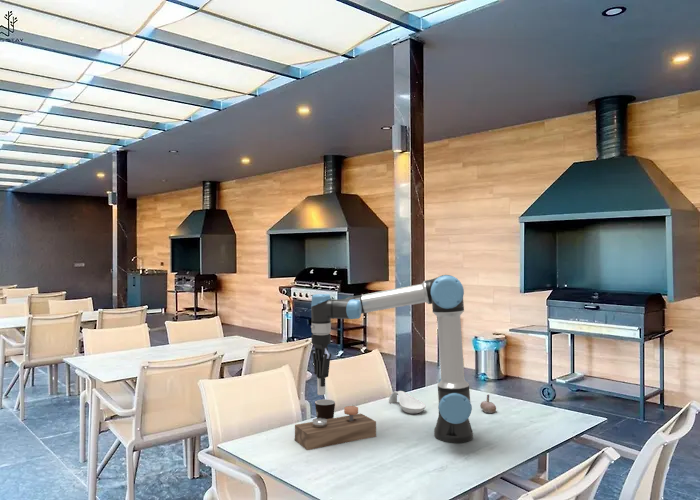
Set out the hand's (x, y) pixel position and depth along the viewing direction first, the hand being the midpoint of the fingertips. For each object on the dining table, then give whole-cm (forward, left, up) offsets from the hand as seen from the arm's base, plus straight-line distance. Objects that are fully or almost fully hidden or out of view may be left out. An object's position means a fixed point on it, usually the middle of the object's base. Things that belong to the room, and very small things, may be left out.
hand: (321, 394), depth 200 cm
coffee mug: (+17, -10, -18) cm, 27 cm away
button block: (0, -6, -18) cm, 19 cm away
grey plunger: (0, +1, -18) cm, 18 cm away
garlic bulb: (-3, -84, -19) cm, 86 cm away
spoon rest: (+20, -54, -19) cm, 60 cm away
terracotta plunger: (0, -13, -15) cm, 20 cm away
